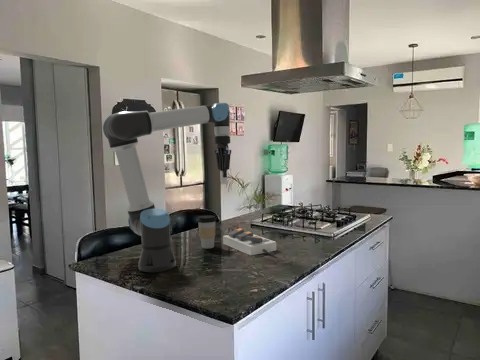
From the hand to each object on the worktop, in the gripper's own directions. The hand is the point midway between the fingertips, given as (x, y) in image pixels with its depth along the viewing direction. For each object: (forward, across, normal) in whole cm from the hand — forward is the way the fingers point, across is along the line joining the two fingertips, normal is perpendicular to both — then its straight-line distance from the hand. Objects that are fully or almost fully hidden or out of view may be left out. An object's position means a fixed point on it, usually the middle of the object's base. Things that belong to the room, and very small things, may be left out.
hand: (224, 184), depth 191 cm
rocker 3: (+25, -18, -5) cm, 31 cm away
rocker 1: (+25, -2, -5) cm, 25 cm away
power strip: (+30, -14, -7) cm, 34 cm away
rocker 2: (+25, -10, -5) cm, 27 cm away
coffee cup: (+31, +2, +9) cm, 32 cm away
